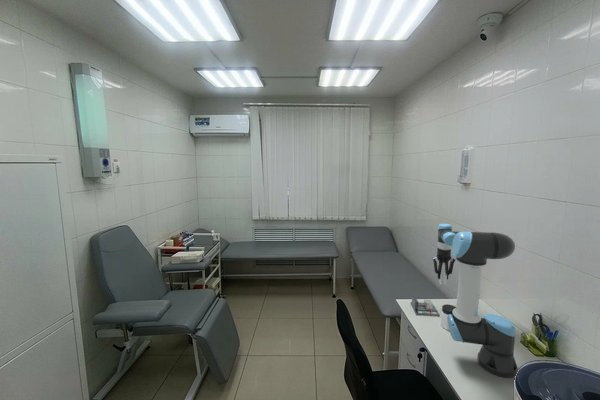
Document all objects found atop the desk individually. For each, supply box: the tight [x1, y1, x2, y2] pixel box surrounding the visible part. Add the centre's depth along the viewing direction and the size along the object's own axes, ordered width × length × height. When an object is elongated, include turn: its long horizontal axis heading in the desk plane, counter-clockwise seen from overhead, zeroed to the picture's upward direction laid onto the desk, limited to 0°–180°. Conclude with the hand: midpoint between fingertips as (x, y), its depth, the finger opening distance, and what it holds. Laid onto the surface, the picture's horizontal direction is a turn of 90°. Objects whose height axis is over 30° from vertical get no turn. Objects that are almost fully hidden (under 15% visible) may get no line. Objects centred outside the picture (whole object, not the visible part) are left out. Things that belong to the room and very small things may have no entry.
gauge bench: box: [410, 295, 441, 317], centre depth 174 cm, size 14×14×7 cm
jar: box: [440, 304, 457, 332], centre depth 155 cm, size 9×8×12 cm
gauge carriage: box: [423, 299, 434, 312], centre depth 172 cm, size 8×4×4 cm, turn 171°
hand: (442, 283), depth 170 cm, fingers open, 2 cm apart
